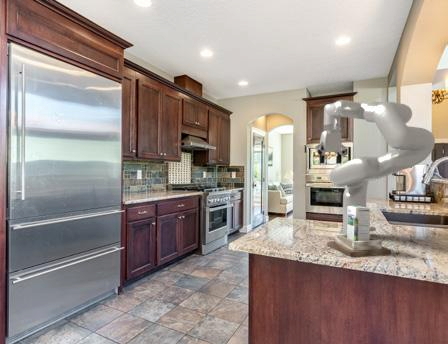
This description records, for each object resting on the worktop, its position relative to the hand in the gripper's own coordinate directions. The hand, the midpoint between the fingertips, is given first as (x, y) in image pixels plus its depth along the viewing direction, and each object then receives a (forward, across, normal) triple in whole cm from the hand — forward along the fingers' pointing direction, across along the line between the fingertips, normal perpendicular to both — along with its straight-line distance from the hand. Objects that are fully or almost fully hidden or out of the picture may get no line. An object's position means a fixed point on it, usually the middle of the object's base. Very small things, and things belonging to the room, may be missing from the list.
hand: (330, 163), depth 132 cm
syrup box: (+31, +11, +33) cm, 46 cm away
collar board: (+32, +12, +33) cm, 47 cm away
